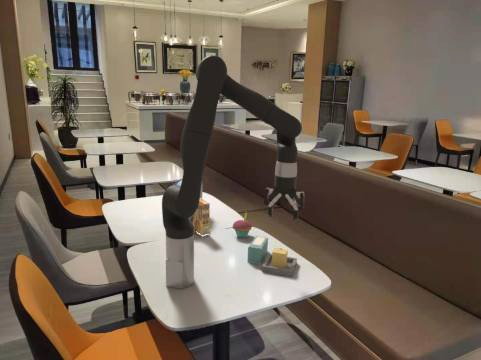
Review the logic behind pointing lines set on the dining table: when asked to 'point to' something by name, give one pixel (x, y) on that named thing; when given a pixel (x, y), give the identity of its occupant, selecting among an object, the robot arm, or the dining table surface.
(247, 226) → the cupcake
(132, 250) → the dining table surface
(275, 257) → the tan box block
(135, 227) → the dining table surface
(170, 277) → the robot arm
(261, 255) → the teal box with tabs
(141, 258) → the dining table surface
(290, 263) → the tray
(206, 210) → the candy box
